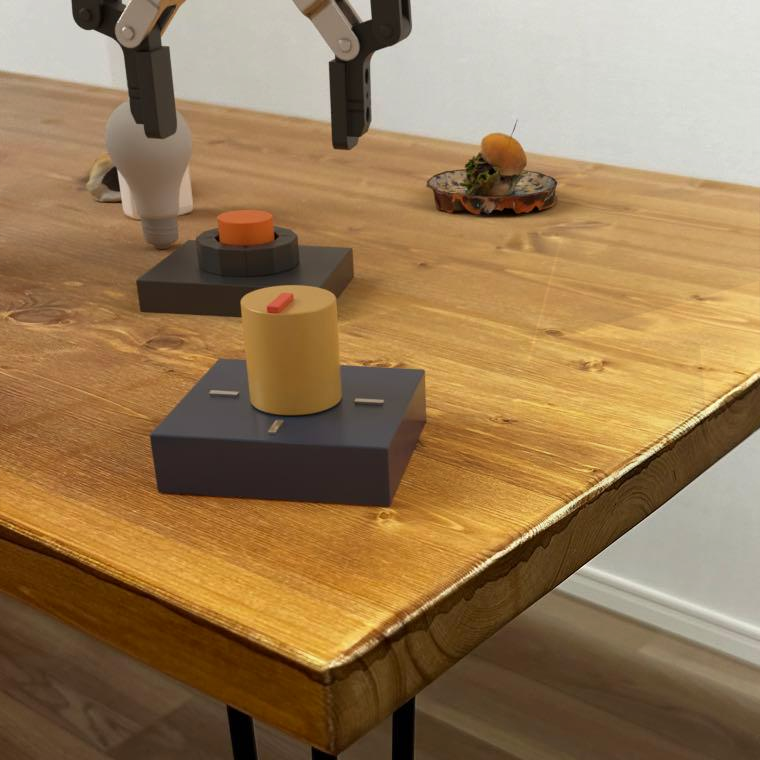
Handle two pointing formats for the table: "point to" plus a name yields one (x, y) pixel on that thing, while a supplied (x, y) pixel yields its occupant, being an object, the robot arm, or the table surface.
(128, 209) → the plastic bottle
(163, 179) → the lightbulb
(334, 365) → the dial
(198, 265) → the button box
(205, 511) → the table surface
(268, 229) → the button
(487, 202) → the burger
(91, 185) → the pastry
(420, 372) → the dial panel
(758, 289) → the table surface
